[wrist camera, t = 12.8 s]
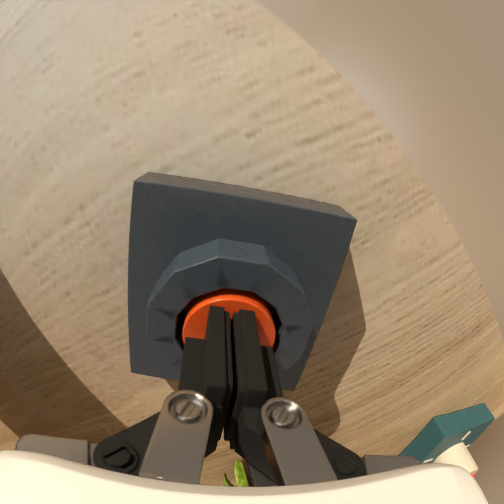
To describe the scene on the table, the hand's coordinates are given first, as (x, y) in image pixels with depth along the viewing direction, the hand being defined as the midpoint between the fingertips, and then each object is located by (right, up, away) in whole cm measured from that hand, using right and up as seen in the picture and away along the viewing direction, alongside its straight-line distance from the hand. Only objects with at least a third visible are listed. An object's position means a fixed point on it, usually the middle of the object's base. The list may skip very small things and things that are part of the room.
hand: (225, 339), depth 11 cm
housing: (0, +2, +4) cm, 4 cm away
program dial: (+24, -20, +12) cm, 33 cm away
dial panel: (+24, -19, +15) cm, 34 cm away
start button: (0, +1, +2) cm, 2 cm away
